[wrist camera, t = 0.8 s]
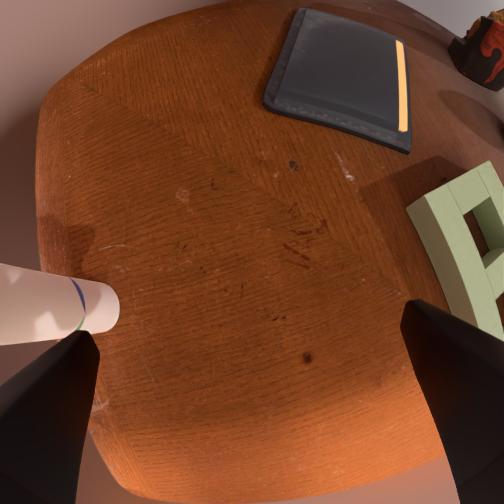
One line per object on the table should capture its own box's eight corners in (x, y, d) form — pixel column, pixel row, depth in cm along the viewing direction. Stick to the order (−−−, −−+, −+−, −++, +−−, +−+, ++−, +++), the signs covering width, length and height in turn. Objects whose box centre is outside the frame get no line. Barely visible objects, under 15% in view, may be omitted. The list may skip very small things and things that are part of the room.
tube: (76, 324, 22) (-64, 329, 7) (83, 277, 22) (-56, 245, 8) (115, 338, 22) (-28, 363, 7) (123, 288, 22) (-22, 262, 7)
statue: (489, 66, 27) (543, -3, 7) (504, 100, 26) (571, 30, 6) (432, 37, 28) (480, -51, 8) (445, 69, 26) (509, -28, 7)
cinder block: (470, 172, 24) (489, 159, 20) (527, 325, 21) (547, 325, 17) (404, 208, 23) (423, 195, 20) (471, 385, 20) (493, 392, 16)
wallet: (300, -1, 26) (411, 35, 25) (298, 9, 28) (407, 44, 27) (253, 96, 23) (416, 150, 22) (254, 108, 25) (407, 159, 24)
